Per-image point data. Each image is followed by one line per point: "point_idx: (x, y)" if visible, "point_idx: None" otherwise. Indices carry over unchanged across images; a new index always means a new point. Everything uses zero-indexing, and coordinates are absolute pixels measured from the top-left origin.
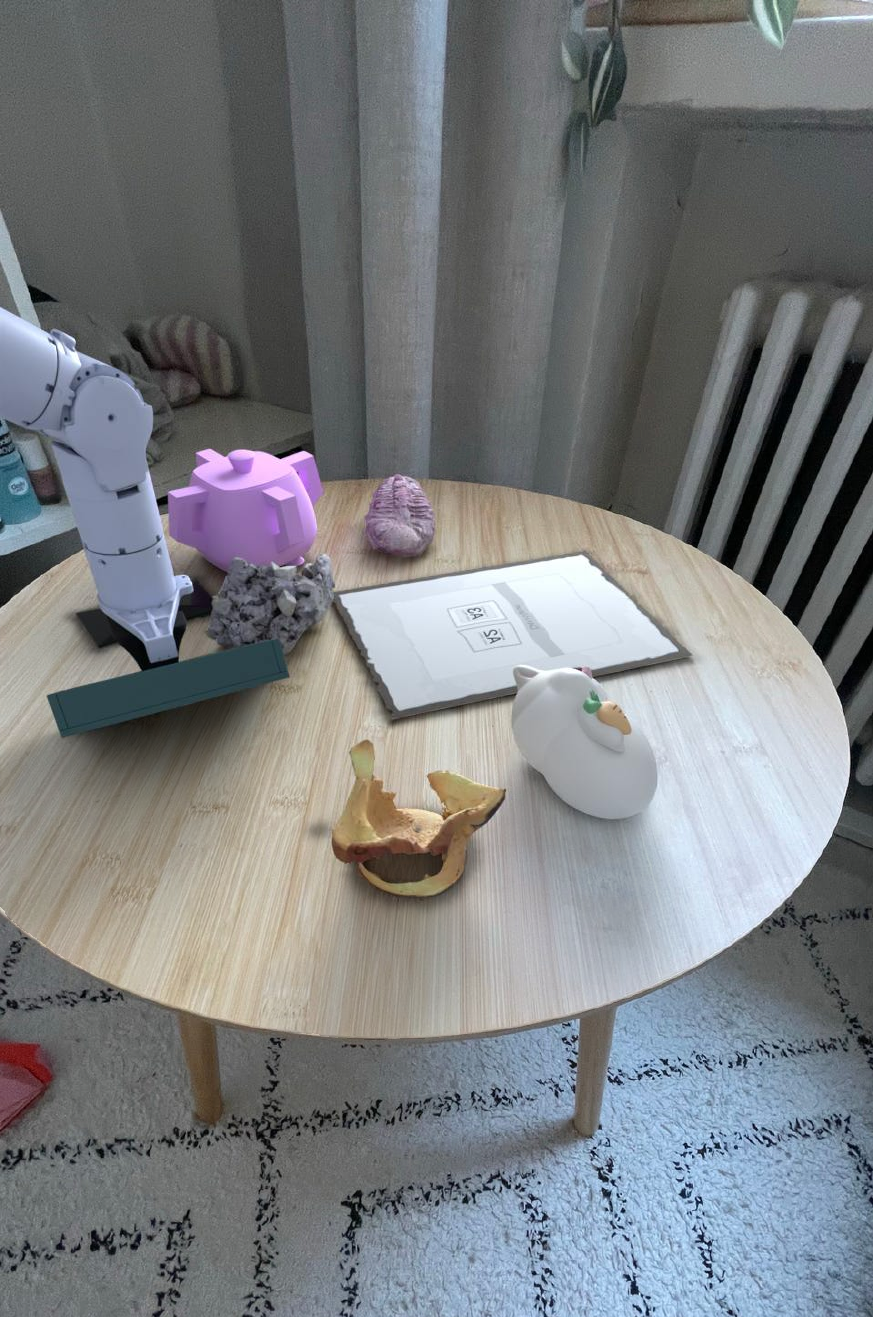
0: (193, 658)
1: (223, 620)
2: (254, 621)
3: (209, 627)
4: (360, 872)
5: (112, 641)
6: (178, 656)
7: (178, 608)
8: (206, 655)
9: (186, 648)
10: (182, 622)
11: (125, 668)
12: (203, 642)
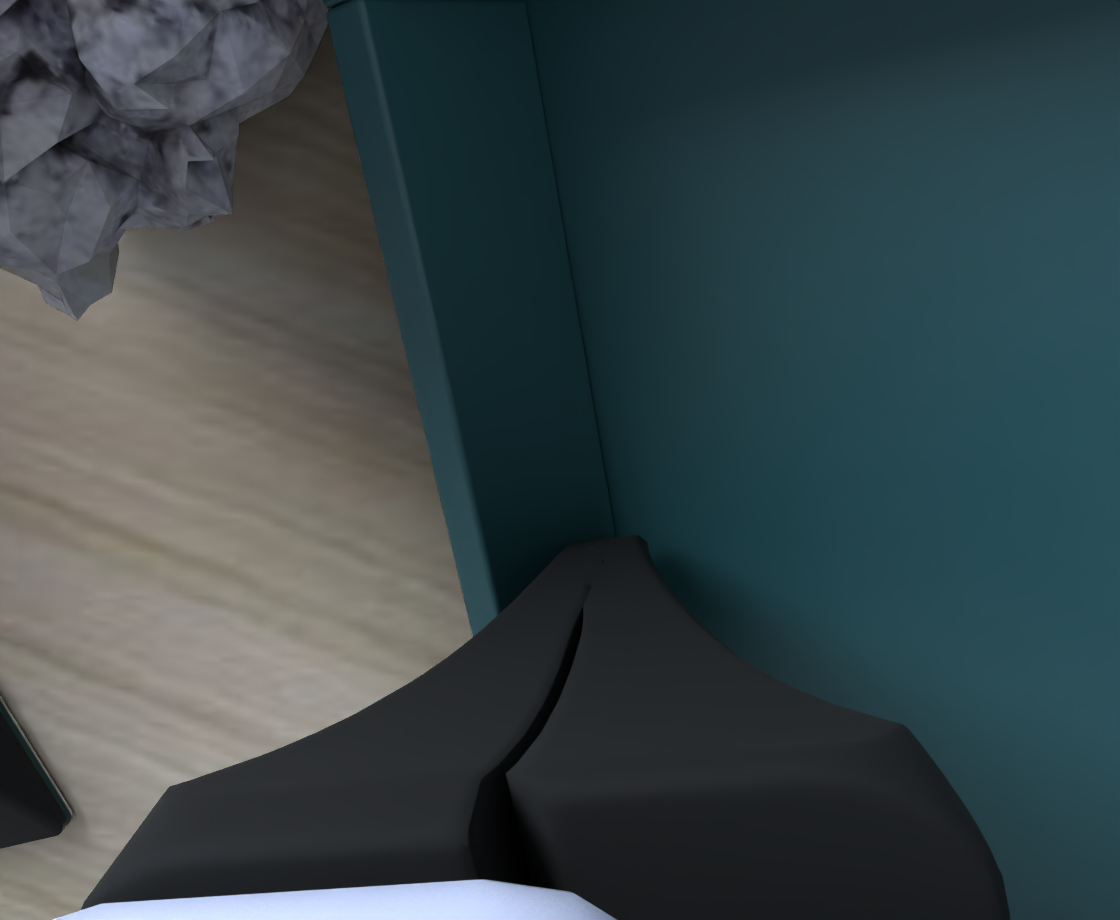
0: (456, 436)
1: (22, 144)
2: None
3: (37, 273)
4: None
5: (26, 772)
6: (695, 620)
7: (477, 832)
8: (441, 339)
9: (102, 413)
10: (912, 828)
11: (260, 724)
12: (43, 306)
